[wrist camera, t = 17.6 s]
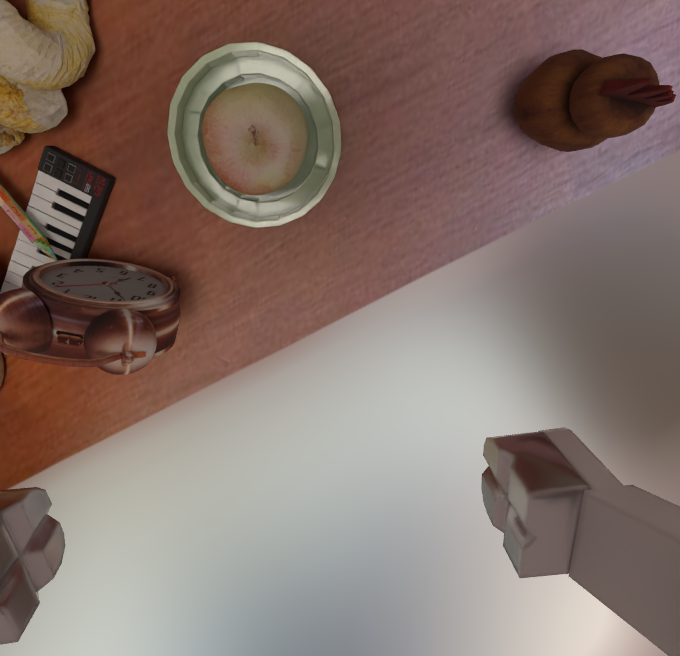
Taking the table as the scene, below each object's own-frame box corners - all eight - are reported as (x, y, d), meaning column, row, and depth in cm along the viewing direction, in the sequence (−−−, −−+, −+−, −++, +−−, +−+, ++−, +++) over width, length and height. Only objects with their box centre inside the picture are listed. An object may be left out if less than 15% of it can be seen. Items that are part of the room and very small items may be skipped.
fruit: (223, 71, 34) (202, 52, 27) (317, 106, 35) (322, 97, 28) (202, 172, 37) (178, 181, 29) (290, 201, 38) (288, 216, 31)
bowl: (330, 50, 34) (334, 36, 30) (340, 210, 39) (346, 220, 35) (170, 60, 34) (149, 48, 29) (200, 222, 39) (186, 233, 34)
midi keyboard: (43, 145, 34) (109, 179, 35) (52, 145, 35) (116, 178, 37) (-16, 333, 39) (43, 357, 41) (-6, 328, 41) (51, 351, 42)
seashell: (119, 43, 28) (-67, 176, 30) (153, 73, 34) (-3, 183, 35) (9, -123, 26) (-188, 29, 27) (65, -60, 32) (-99, 62, 33)
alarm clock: (197, 271, 40) (144, 342, 26) (191, 321, 42) (138, 411, 28) (65, 244, 38) (-66, 304, 24) (64, 298, 40) (-59, 382, 26)
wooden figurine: (487, 114, 37) (598, 100, 23) (534, 46, 36) (683, -12, 22) (546, 162, 39) (681, 175, 25) (593, 99, 37) (765, 77, 24)
